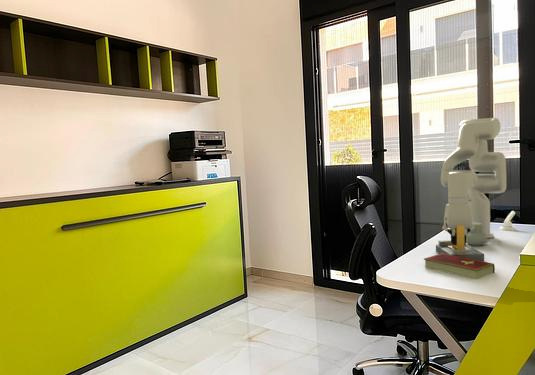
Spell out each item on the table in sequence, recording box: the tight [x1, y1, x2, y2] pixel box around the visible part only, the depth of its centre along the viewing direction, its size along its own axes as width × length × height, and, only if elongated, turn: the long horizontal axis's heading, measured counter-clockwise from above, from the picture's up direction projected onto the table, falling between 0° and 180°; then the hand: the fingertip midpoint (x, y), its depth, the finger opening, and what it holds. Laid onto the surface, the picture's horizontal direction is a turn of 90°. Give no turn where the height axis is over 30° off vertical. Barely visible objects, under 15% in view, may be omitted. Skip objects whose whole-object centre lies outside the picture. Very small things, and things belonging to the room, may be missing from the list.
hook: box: [499, 210, 517, 232], centre depth 220 cm, size 8×12×7 cm
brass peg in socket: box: [453, 225, 464, 250], centre depth 171 cm, size 4×3×11 cm, turn 175°
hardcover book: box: [423, 253, 496, 280], centre depth 153 cm, size 12×21×4 cm, turn 33°
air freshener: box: [466, 222, 488, 246], centre depth 190 cm, size 11×8×10 cm
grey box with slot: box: [435, 239, 485, 262], centre depth 172 cm, size 18×13×5 cm
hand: (458, 244), depth 172 cm, fingers closed on brass peg in socket, 3 cm apart
